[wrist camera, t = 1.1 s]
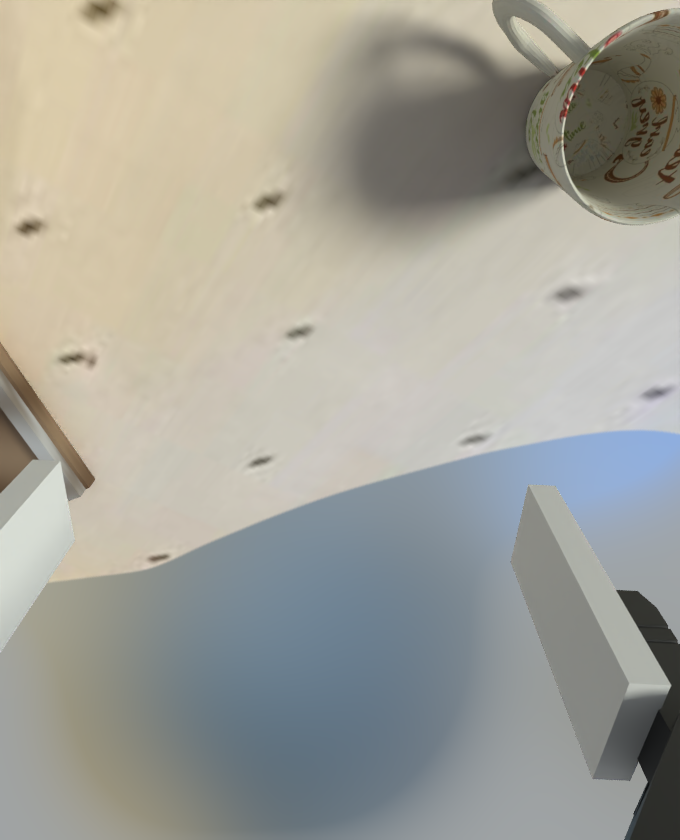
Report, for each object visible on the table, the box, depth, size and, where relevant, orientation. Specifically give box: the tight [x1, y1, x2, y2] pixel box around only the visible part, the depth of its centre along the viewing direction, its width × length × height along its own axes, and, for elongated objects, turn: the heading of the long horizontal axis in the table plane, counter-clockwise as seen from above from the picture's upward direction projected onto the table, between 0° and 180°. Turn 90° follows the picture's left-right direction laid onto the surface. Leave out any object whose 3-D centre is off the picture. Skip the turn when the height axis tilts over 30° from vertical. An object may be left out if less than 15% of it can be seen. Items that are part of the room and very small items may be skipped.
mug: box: [492, 0, 680, 225], centre depth 29 cm, size 8×13×10 cm, turn 53°
